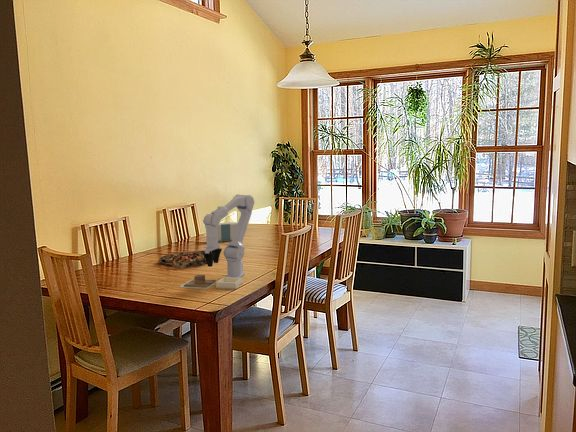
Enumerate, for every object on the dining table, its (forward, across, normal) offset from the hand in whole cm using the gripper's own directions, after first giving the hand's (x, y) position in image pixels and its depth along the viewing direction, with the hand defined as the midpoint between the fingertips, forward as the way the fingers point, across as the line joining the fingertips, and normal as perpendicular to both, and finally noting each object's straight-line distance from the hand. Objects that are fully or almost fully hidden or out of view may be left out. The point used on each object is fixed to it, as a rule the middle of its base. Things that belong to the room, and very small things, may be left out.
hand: (213, 264), depth 244 cm
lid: (+9, +4, -6) cm, 11 cm away
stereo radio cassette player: (+10, -111, -37) cm, 117 cm away
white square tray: (+9, +4, +10) cm, 14 cm away
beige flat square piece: (+9, +4, -6) cm, 12 cm away
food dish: (+10, -42, -34) cm, 55 cm away
